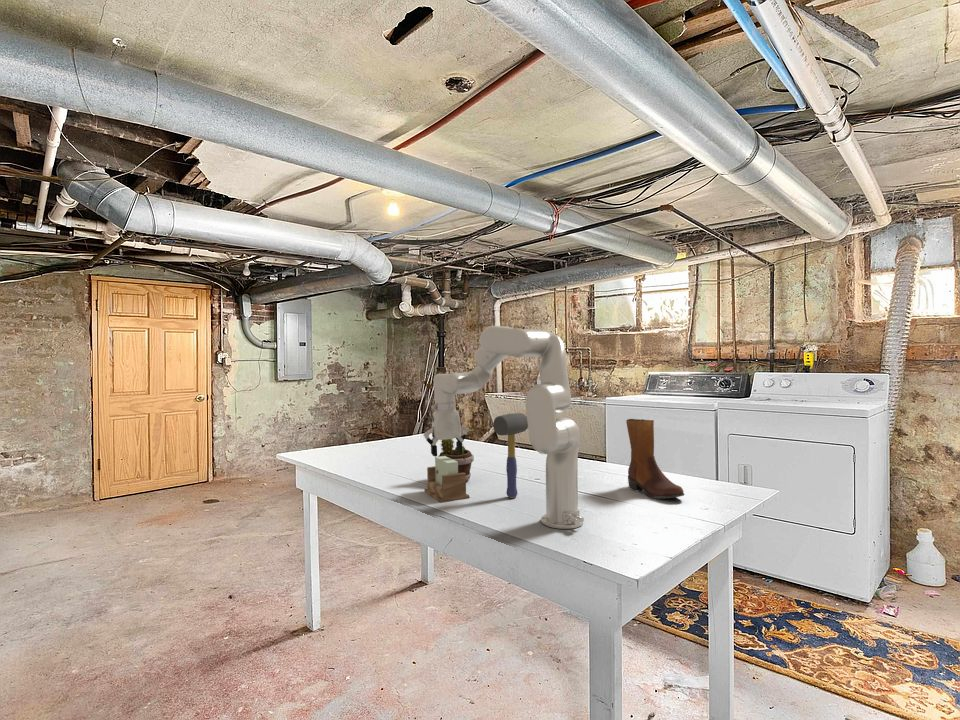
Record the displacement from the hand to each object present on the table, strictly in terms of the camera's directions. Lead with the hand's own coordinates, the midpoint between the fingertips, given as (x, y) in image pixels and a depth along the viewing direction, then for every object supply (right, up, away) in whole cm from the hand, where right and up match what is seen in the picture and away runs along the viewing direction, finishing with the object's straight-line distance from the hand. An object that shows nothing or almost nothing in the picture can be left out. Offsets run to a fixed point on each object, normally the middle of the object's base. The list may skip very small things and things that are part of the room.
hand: (447, 454), depth 184 cm
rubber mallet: (+23, -15, -4) cm, 28 cm away
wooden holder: (0, -15, +1) cm, 15 cm away
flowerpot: (+2, -15, +20) cm, 25 cm away
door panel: (0, -14, +1) cm, 14 cm away
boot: (+75, -14, -2) cm, 76 cm away
